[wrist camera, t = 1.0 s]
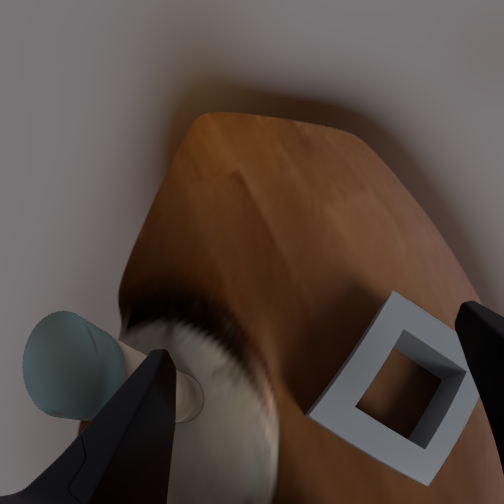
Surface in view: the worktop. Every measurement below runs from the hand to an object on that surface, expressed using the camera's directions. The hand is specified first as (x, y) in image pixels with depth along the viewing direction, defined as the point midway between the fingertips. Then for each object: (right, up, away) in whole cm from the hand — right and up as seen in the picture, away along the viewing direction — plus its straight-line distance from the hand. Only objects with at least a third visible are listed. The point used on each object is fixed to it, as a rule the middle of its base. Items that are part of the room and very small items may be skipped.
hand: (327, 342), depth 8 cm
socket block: (+9, -8, +11) cm, 16 cm away
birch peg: (-8, -9, +13) cm, 17 cm away
